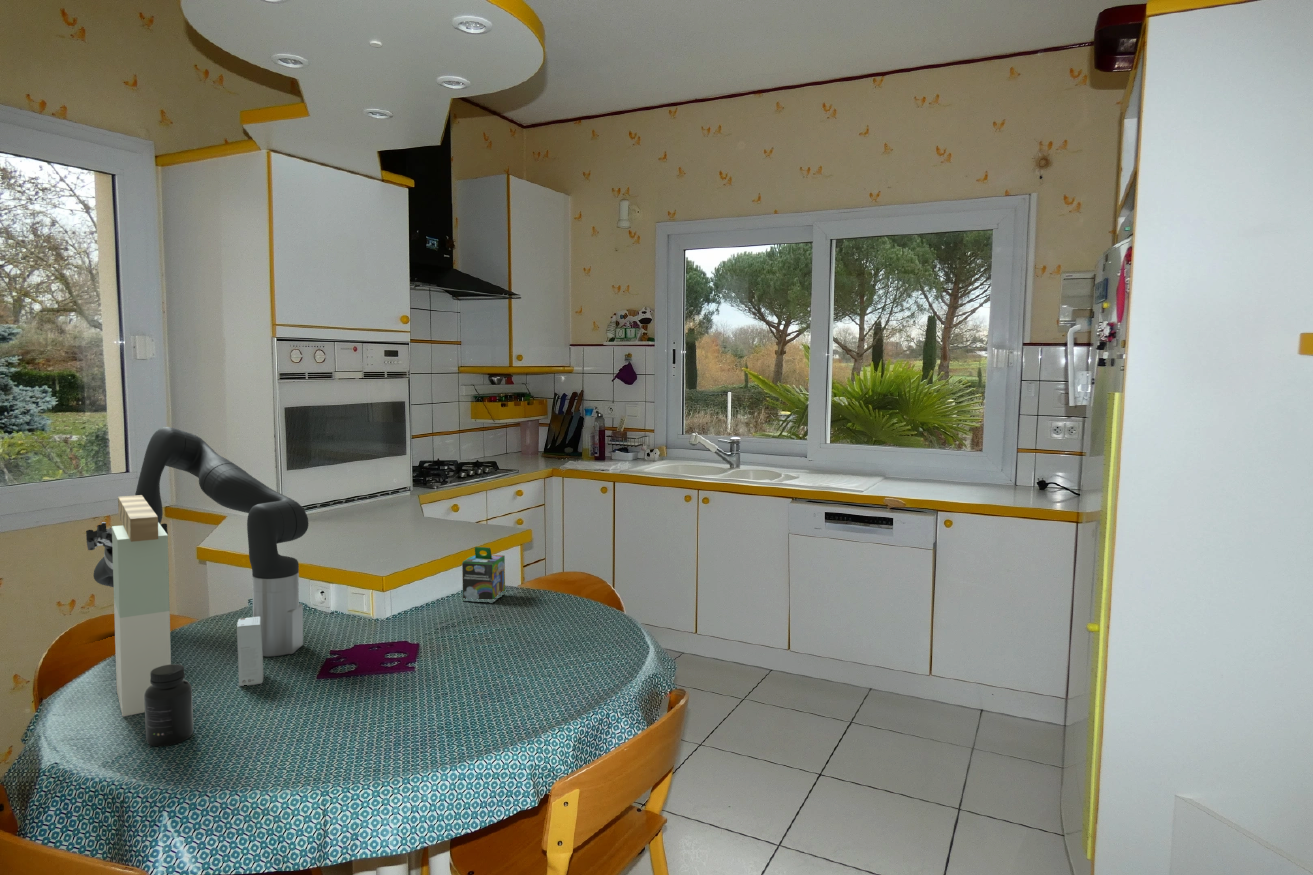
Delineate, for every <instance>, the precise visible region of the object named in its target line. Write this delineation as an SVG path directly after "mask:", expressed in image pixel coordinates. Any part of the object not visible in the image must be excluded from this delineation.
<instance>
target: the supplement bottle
mask: <svg viewBox="0 0 1313 875" xmlns="http://www.w3.org/2000/svg"><path fill="white" fill-rule="evenodd" d="M150 677H151V679H150V683H151V684H152V685H151V686H150V687H148V688H147V690H146V691H145V694H144V706H145V712H144V723H145V724H144V726H145V740H146V743H147V744H148V745H150V746H153V747H168V746H173V745H177V744H179V743H182V742H184V741H186V740H187V739H189V738H191V736H192V735H193V732H194V711H193V710H194V707H193V687H192V684H191V683H190V682H189V681H188V680H187V679H185V678H186V674H185V667H184V665H182V664H180V663H179V664H177V663H174V664H172V663H171V664H170V665H164V666H161V667H158V668H155V669H153V670H152V671H151V673H150Z"/></svg>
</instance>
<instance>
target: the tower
mask: <svg viewBox="0 0 1313 875" xmlns="http://www.w3.org/2000/svg"><path fill="white" fill-rule="evenodd" d="M111 528H112V550H113V583H114V587H113V605H114V606H113V607H114V608H113V610H114V611H113V612H114V645H115V646H114V647H115V675H116V676H115V677H116V678H115V681H116V693H117V697H118V702H119V707H120V711H121V716H122V717H129V716H133V715H137V714H141V713H145V706H144V694H145V691H146V690H147V688H148V687H150V686H151V685H152V684H151V683H150V679H151V677H150V673H151V671H152V670H153V669H155V668H158V667H161V666H164V665H170V664H172V656H171V655H172V654H171V652H172V649H171V648H172V647H171V610H170V609H171V607H170V573H169V572H170V571H169V570H170V568H169V565H170V564H169V534H168V535H167V533H166V532H165V531H164V529H163V528H162V526H161V524H159V522H158V539H155V540H145V541H134V542H131V541H130V539H129V536H128V534H127V532H126V530H125V528H124V526H123V524H122V525H113V526H111Z"/></svg>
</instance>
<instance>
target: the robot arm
mask: <svg viewBox="0 0 1313 875" xmlns="http://www.w3.org/2000/svg"><path fill="white" fill-rule="evenodd" d="M166 467H169V468H173V469H176V470H179V471H184V472H186V473H189V474H191V475H193V476H195V477H196V478H198V485H199V487H200V489H201V491H202V492H203V493H204V495H206V496H207V497H208V498H210V499H211V500H212V501H214V502H215V503H217V505H220V506H221V507H224V508H226V509H230V510H232V511H238V512H241V513H247V514H248V515H247V520H246V530H247V532H246V533H247V542H248V558H249V563H250V566H251V573H252V576H251V577H252V578H251V579H252V617H261V633H262V654H263V657H277V656H284V655H292V654H295V652H297V650H298V649H300V648H301V647H302V646H304V632H303V631H304V612H303V611H304V610H303V607H304V606H303V604H302V603H300V588H299V587H300V582H299V580H300V574H299V570H300V569H299V568H300V567H299V564H300V563H299V560H298V559H297V558H295V557H293V556H287V555H281V554H279V552H278V550H279V549H278V545H277V544H281V543H282V544H283V543H287V542H292V541H296V540H298V539H299V538H302V537H303V536H304V535H305V534H306V533H307V531H308V529H309V517H308V514H307V513H306V511H305V510H306V509H304V508H303V507H302V505H301V504H300V503H299V502H297V501H296V500H295V499H292V497H288V496H286V495H285V494H282V493H280V492H278V491H276V490H274V489H272V488H270V487H269V486H268V485H266V484H265V483H263V482H262V481H260V480H258V479H257V478H256V477H253V475H251V474H249V473H248V472H247V471H246V470H244V469H242V468H241V467H240V466H238V465H237V464H236V463H234V462H233V461H230V460H229V459H227V458H225V457H223V456H222V455H220V454H219V453H217V452H216V451H215V450H214V449H213V448H212V447H211V446H210V445H209V444H208V443H207V442H206V441H205V440H203V439H202V438H201V437H200V436H197V435H196V434H193V433H190V432H187V431H184V430H180V429H178V428H174V427H171V426H163V427H160V428H158V430H156V431H155V432H154V433H153V434H152V436H151V437H150V439H149V442H148V444H147V447H146V450H145V453H144V458H143V461H142V465H141V469H140V472H139V473H140V474H139V476H138V481H137V484H136V485H137V486H136V489H135V493H134V496H136V495H142V496H143V497H144V499H145V500H146V501H147V503H148V504H149V506H150V507H151V508H152V510H153V511H154V512H155V514H156V515H157V516H158V522H159V524H160V525H161V526H162V528H163V529H164V531H165V532H166V533H167V535H168V536H169V531H168V524H167V523H165V522H164V523H162V520H163V513H164V512H163V511H164V510H163V503H162V496H161V486H160V484H161V477H162V474H163V472H164V469H165V468H166ZM85 534H86V535H85V537H86V545H87V546H86V547H87V551H95V549H96V548H98V547H99V546H101V547H102V546H103V547H104V551H103V552H104V553H103V557H102V558H100V560H99V561H98V563H97V564H96V566H95V568H94V570H93V579H94V581H95V582H96V583H97V584H99V585H101V586H106V587H109V588H114V583H113V550H112V527H108V528H107V522H105V521H104V522H101V524H97V528H96V530H95V531H94V530H93V529H87V530H86V531H85Z"/></svg>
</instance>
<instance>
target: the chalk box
mask: <svg viewBox="0 0 1313 875" xmlns="http://www.w3.org/2000/svg"><path fill="white" fill-rule="evenodd" d="M491 550H492V548H491V547H486V546H475V547H474V554H475V555H472V556H469V557H467V558H466V559H465V560H463V561H462V562H461V563H462V564H461V568H462V570H461V571H462V572H461V573H462V599H463V598H465V599H466V598H468V599H470V598H473V599H494V598H495V597H496V596H497V595H499V594H500V593H501V592H502V591H505V592H506V569H505V568H506V566H505V565H506V564H505V563H506V561H505V560H506V559H505V558H506V557H505V555H501V554H492V551H491ZM481 552H485V553H486V554H481Z"/></svg>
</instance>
